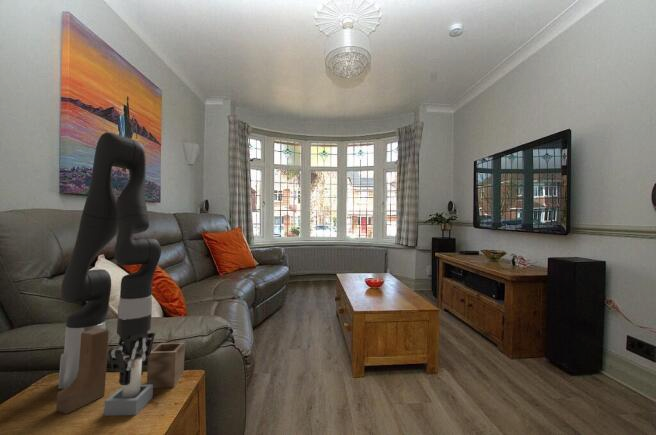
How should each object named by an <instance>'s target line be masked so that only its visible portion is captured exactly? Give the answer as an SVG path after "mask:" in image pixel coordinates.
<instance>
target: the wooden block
mask: <svg viewBox="0 0 656 435" xmlns="http://www.w3.org/2000/svg"><path fill="white" fill-rule="evenodd" d="M108 345H109V329H106V328H105V329H101V328H96V329H92V330H89V331H85V332H82V333H81V343H80V358H79V370H78V373H77V376H76V379H75V380H74V381H73V382H72V383H71V385H70V386H68V387H67V388H65V389H60V391H58V392H57V395H56V404H55V405H56V407H55V409H56V411H58V412H60V413H63V414H67V415H68V414H70V413H72V412H74V411H76V410H78V409H80V408H82V407H84V406H86V405H88V404H90V403H92V402H94V401H96V400H98V399H101V398H102V397H104V396H105V393H106V379H107V366H108V365H107V364H108V362H107V360H108V359H107V358H108V351H109V350H108V348H109V346H108Z"/></svg>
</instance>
